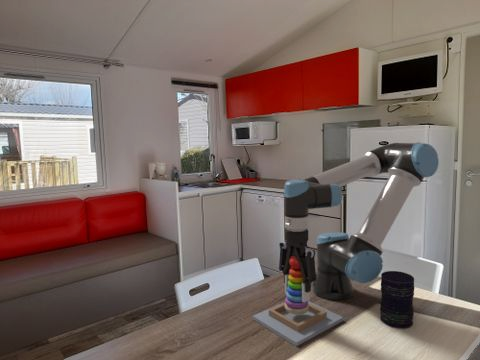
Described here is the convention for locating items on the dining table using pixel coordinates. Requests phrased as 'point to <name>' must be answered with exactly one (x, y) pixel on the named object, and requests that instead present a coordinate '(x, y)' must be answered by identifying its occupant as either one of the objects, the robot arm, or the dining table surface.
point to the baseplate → (297, 322)
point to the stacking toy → (295, 290)
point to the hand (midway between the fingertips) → (296, 296)
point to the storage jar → (397, 299)
